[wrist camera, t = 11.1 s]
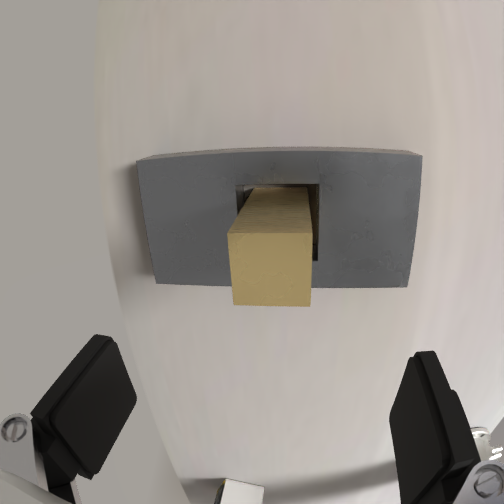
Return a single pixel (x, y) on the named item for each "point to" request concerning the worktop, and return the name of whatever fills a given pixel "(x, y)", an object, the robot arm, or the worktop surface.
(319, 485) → the worktop surface
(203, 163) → the grey socket block
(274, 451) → the worktop surface
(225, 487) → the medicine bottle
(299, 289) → the brass peg
